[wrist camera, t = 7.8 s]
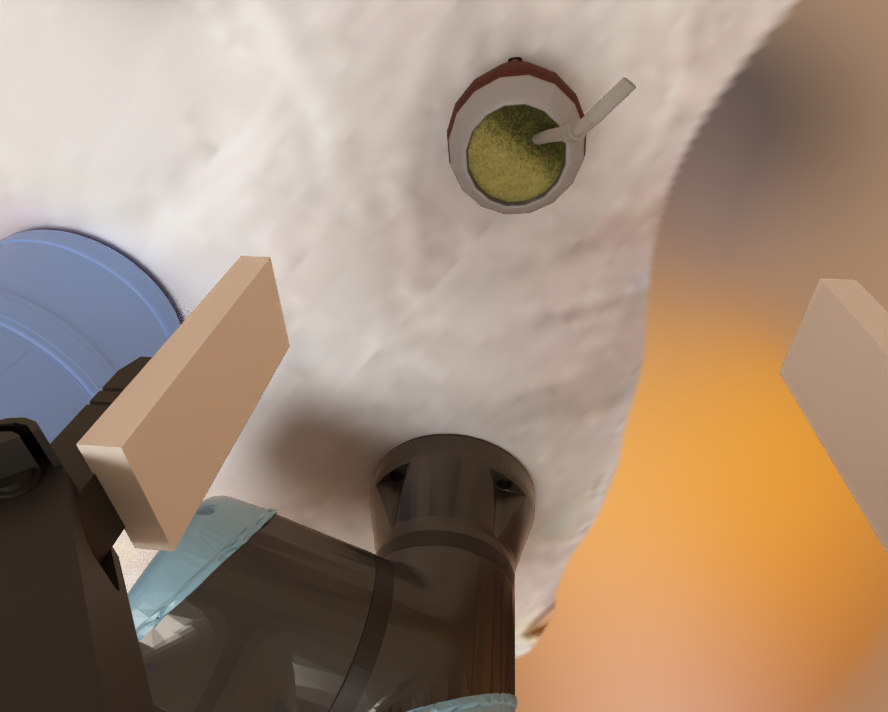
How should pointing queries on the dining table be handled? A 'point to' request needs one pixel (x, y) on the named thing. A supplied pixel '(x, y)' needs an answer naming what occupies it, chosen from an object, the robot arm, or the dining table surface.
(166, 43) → the dining table surface
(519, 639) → the dining table surface
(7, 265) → the water jug
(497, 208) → the mate gourd
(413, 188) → the dining table surface
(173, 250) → the dining table surface
